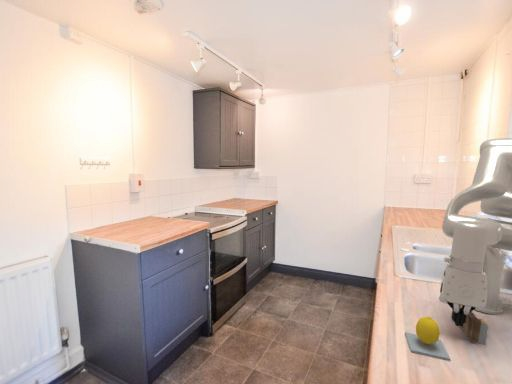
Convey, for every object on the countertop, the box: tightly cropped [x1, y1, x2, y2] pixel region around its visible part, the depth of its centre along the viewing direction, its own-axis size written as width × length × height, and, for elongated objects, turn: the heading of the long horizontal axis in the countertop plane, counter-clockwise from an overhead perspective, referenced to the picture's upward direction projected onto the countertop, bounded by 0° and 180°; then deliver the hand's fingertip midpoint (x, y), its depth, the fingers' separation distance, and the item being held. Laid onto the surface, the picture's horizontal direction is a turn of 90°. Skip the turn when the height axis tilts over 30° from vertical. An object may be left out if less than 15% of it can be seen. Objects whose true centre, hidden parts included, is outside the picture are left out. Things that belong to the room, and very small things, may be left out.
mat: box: [404, 331, 451, 362], centre depth 75 cm, size 9×8×1 cm
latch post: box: [475, 318, 489, 346], centre depth 77 cm, size 2×2×7 cm
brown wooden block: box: [459, 304, 481, 343], centre depth 82 cm, size 12×2×6 cm, turn 162°
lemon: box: [415, 316, 441, 345], centre depth 74 cm, size 6×6×8 cm
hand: (457, 323), depth 80 cm, fingers closed
